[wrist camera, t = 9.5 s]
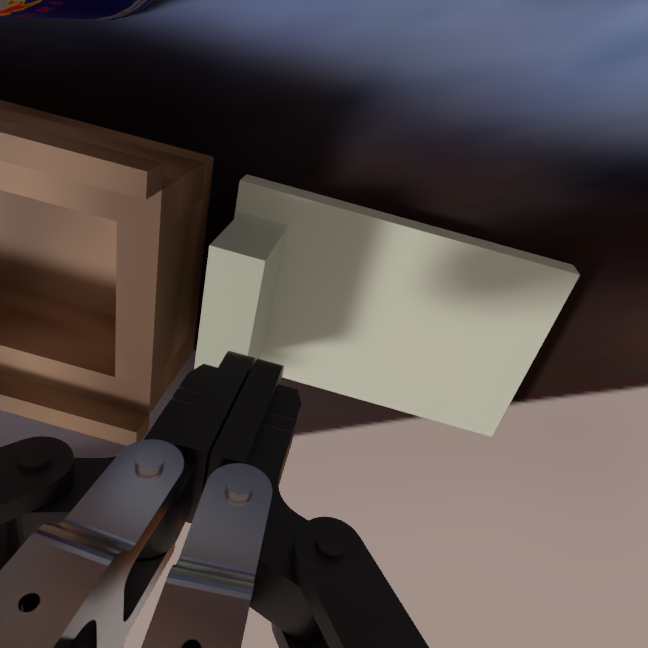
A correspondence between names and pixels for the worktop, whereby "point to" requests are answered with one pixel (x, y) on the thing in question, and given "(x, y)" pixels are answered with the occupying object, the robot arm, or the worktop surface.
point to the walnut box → (95, 270)
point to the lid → (377, 304)
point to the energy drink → (71, 8)
